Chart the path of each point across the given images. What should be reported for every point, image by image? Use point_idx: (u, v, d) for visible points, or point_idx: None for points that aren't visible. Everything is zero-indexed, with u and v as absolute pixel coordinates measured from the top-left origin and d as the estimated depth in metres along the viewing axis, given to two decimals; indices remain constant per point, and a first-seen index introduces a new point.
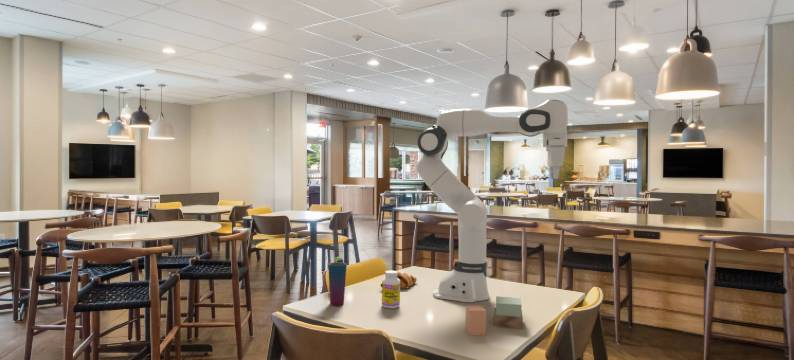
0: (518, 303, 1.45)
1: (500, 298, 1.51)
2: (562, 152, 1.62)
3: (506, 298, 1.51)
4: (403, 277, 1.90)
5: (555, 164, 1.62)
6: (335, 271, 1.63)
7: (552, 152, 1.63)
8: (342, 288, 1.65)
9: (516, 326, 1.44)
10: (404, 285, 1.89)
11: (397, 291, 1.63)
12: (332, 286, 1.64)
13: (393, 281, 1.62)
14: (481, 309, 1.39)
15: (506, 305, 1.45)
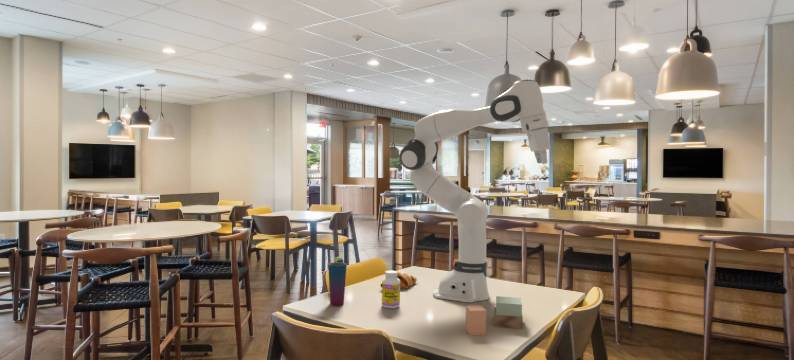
0: (518, 303, 1.45)
1: (500, 298, 1.51)
2: (546, 134, 1.47)
3: (506, 298, 1.51)
4: (403, 277, 1.90)
5: (541, 149, 1.47)
6: (335, 271, 1.63)
7: (535, 136, 1.48)
8: (342, 288, 1.65)
9: (516, 326, 1.44)
10: (404, 285, 1.89)
11: (397, 291, 1.63)
12: (332, 286, 1.64)
13: (393, 281, 1.62)
14: (481, 309, 1.39)
15: (507, 305, 1.45)
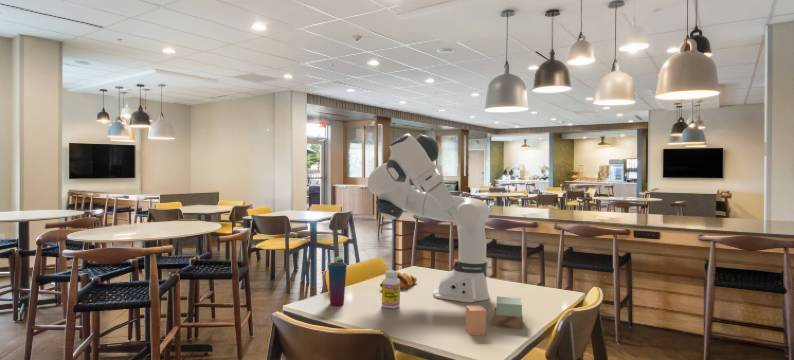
0: (519, 303, 1.45)
1: (501, 298, 1.51)
2: (445, 190, 1.28)
3: (506, 298, 1.51)
4: (403, 277, 1.90)
5: (448, 207, 1.28)
6: (335, 271, 1.63)
7: (435, 197, 1.28)
8: (342, 288, 1.65)
9: (516, 326, 1.44)
10: (404, 285, 1.89)
11: (397, 291, 1.63)
12: (332, 286, 1.64)
13: (393, 281, 1.62)
14: (481, 309, 1.39)
15: (507, 305, 1.45)
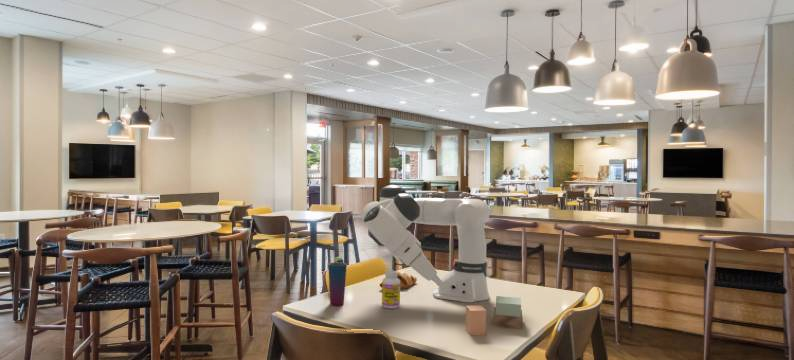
0: (518, 303, 1.45)
1: (500, 298, 1.51)
2: (425, 261, 1.28)
3: (506, 298, 1.51)
4: (402, 277, 1.90)
5: (430, 278, 1.28)
6: (335, 271, 1.63)
7: (417, 270, 1.28)
8: (342, 288, 1.65)
9: (516, 326, 1.44)
10: (403, 285, 1.89)
11: (397, 291, 1.63)
12: (332, 286, 1.64)
13: (393, 281, 1.62)
14: (481, 309, 1.39)
15: (506, 305, 1.45)
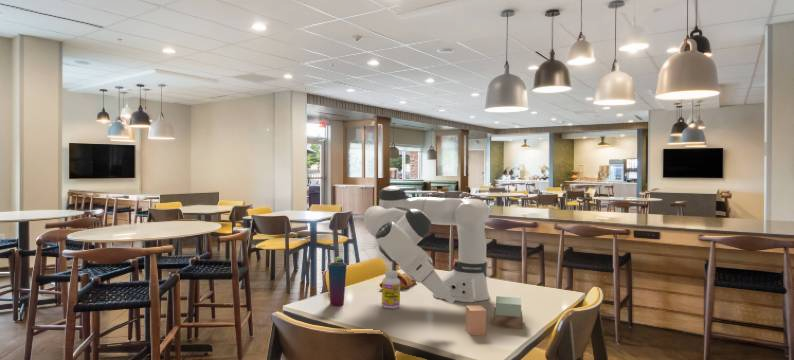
0: (518, 303, 1.45)
1: (500, 298, 1.51)
2: (437, 279, 1.28)
3: (506, 298, 1.51)
4: (402, 277, 1.90)
5: (442, 296, 1.28)
6: (335, 271, 1.63)
7: (429, 288, 1.28)
8: (342, 288, 1.65)
9: (516, 326, 1.44)
10: (403, 285, 1.89)
11: (397, 291, 1.63)
12: (332, 286, 1.64)
13: (393, 281, 1.62)
14: (481, 309, 1.39)
15: (506, 305, 1.45)
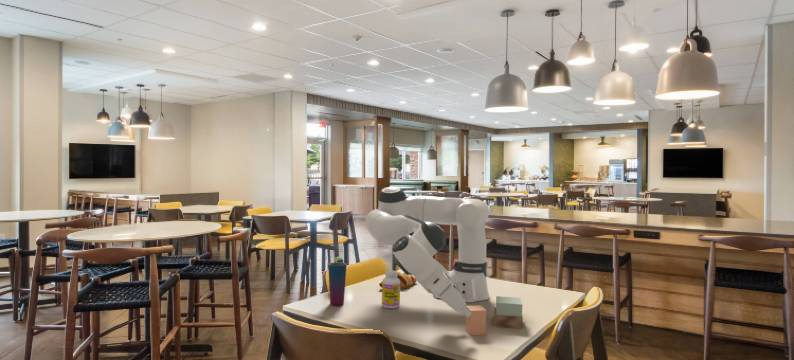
0: (519, 303, 1.46)
1: (500, 298, 1.51)
2: (455, 293, 1.29)
3: (506, 298, 1.51)
4: (402, 277, 1.90)
5: (460, 310, 1.29)
6: (335, 271, 1.63)
7: (447, 301, 1.29)
8: (342, 288, 1.65)
9: (516, 326, 1.44)
10: (403, 285, 1.90)
11: (397, 291, 1.63)
12: (332, 286, 1.64)
13: (393, 281, 1.62)
14: (481, 309, 1.39)
15: (507, 305, 1.45)
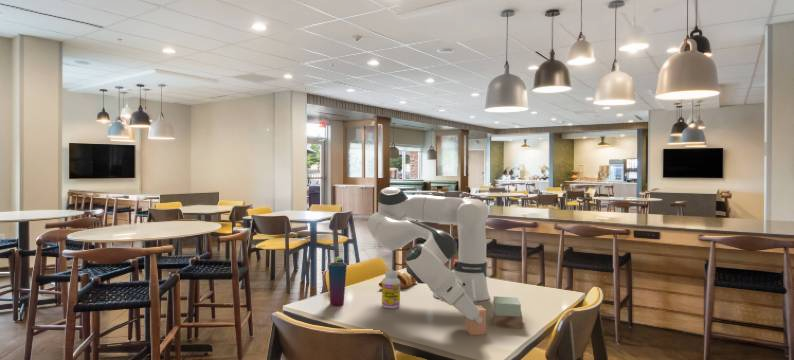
0: (517, 303, 1.46)
1: (498, 298, 1.51)
2: (469, 301, 1.30)
3: (504, 298, 1.51)
4: (402, 277, 1.90)
5: (474, 318, 1.30)
6: (335, 271, 1.63)
7: (460, 310, 1.30)
8: (342, 288, 1.65)
9: (516, 326, 1.44)
10: (402, 285, 1.90)
11: (397, 291, 1.63)
12: (332, 286, 1.64)
13: (393, 281, 1.62)
14: (481, 309, 1.39)
15: (506, 305, 1.45)
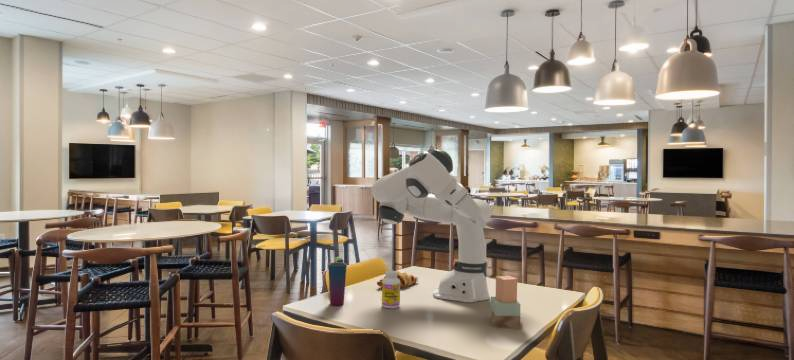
0: (516, 302, 1.46)
1: None
2: (471, 201, 1.33)
3: None
4: (400, 276, 1.91)
5: (476, 217, 1.33)
6: (335, 271, 1.63)
7: (463, 209, 1.33)
8: (342, 288, 1.65)
9: (514, 326, 1.44)
10: (401, 284, 1.91)
11: (397, 291, 1.63)
12: (332, 286, 1.64)
13: (393, 281, 1.62)
14: (511, 278, 1.48)
15: (506, 305, 1.45)
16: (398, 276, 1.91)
